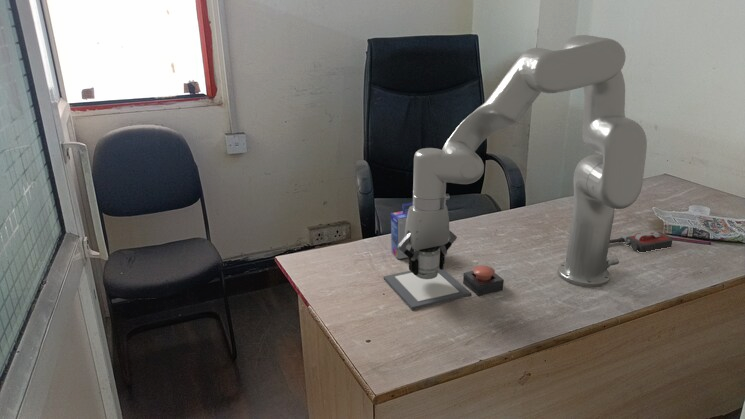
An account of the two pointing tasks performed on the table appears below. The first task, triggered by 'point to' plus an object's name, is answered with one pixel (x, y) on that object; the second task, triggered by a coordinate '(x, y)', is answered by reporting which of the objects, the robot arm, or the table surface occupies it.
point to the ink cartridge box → (399, 230)
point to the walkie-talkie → (645, 241)
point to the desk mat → (426, 289)
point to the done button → (483, 273)
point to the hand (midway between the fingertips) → (426, 269)
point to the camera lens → (428, 263)
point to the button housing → (483, 284)
